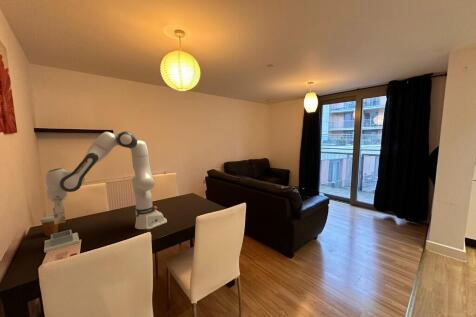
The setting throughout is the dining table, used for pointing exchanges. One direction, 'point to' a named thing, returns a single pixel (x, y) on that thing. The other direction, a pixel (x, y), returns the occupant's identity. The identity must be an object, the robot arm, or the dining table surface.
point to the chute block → (59, 220)
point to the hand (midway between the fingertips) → (59, 216)
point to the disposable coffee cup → (49, 225)
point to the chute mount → (61, 240)
